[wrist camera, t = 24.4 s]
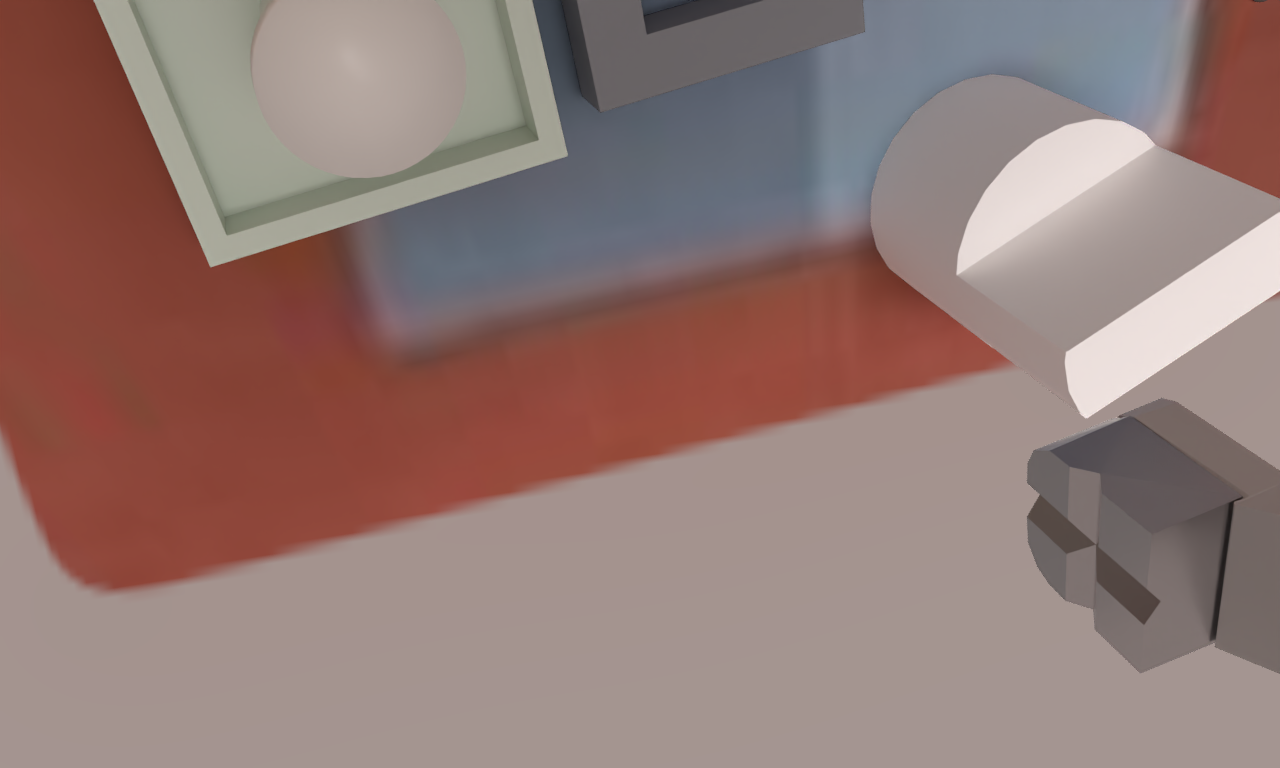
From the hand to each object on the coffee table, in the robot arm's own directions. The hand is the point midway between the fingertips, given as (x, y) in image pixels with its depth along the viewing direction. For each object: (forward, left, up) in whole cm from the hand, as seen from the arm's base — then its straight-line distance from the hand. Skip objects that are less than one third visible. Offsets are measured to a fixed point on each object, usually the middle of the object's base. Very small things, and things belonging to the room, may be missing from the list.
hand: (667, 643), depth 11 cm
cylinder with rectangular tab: (-22, +13, -29) cm, 39 cm away
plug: (0, 0, -28) cm, 29 cm away
